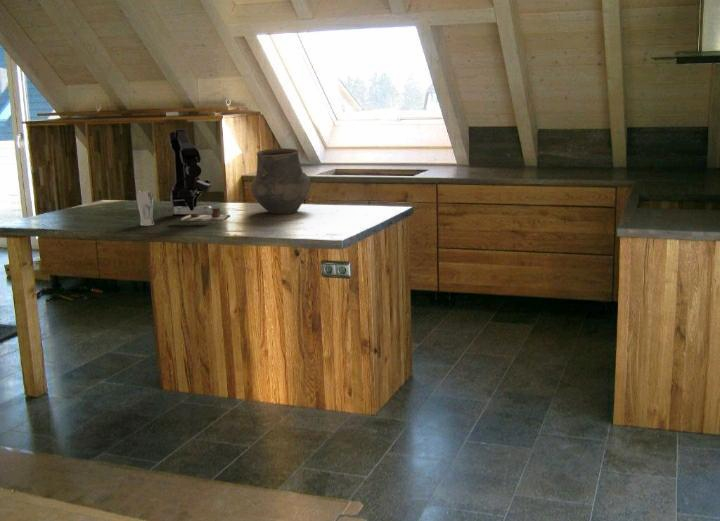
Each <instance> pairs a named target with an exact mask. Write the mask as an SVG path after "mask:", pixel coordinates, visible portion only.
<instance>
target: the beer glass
mask: <svg viewBox="0 0 720 521" xmlns="http://www.w3.org/2000/svg"><path fill="white" fill-rule="evenodd" d="M136 200H137V207H138V212H139V214H140V226H141V227H149V226H154V225H155V221H154V216H153V214H154V196H153V192H152V191H151V190H143V191H141V190H140V191H137V192H136Z"/></svg>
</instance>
